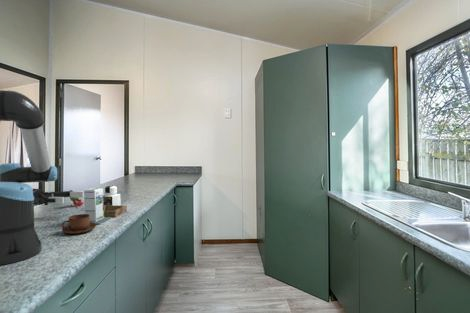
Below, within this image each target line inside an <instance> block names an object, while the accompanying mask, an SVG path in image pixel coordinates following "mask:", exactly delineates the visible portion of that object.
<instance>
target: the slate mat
mask: <svg viewBox="0 0 470 313" xmlns="http://www.w3.org/2000/svg"><path fill="white" fill-rule="evenodd" d="M111 219H112V217H104V219H101V220H99V221H97V222H90V223H95V224H96V226H99V225H101V224H103V223H105V222H107V221H109V220H111Z"/></svg>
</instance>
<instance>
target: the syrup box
mask: <svg viewBox="0 0 470 313" xmlns="http://www.w3.org/2000/svg"><path fill="white" fill-rule="evenodd" d="M83 192H84V197H83V199H84V200H83V201H84V202H83V206H84V214H88V215H89V217H90V222H97V221H99V220H101V219H104V200H103V195H104V188H101V187H93V188H89V189H85V190H83Z"/></svg>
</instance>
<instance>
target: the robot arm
mask: <svg viewBox="0 0 470 313" xmlns="http://www.w3.org/2000/svg"><path fill="white" fill-rule="evenodd" d="M44 118H45V117H44V115H43V112H42V111H41V109H40V108H39V107H38V106H37V104H36V103H35V102H34V101H33V100H32V99H30V98H29V97H28V96H26V95H25V94H23V93H21V92H19V91H18V92H17V91H14V90H3V89H2V90H1V89H0V122H1V121H2V122H14V123H15V126H16V127H17V128H18V129H20V132H21V135H22V136H21V137H22V140H23V143H24V147H25V149H26V154H27V157H28V160H29V165H30V166H21V164H20V163H19V162H9V163H2V164H0V266H1V265H7V264H14V263H17V262H21V261H24V260H28V259H29V258H32V257H35V256H36V255H38V254H40V252H42V241H41V240H40V239H39V235H38V234H37V230H36V228H35V210H34V209H35V207H34V206H38V205H40V206H41V205H44V206H48V205H49V204H62V205H63V204H64V203H65V198H70V197H79V198H80V199H82V198H83V199H84V191H73V189H70V190H67V191H66V190H65V191H46V192H45V191H44V192H43V190H42V189H41V188H33V186H31V185H30V184H28V183H47V182H48V183H49V182H55V181H57V179H58V168H57V167H56V166H52V165H51V160H50V156H49V151H48V146H47V142H46V141H47V140H46V138H45V133H44V128H43V127H44V125H45V119H44Z"/></svg>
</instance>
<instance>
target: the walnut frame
mask: <svg viewBox="0 0 470 313" xmlns="http://www.w3.org/2000/svg"><path fill="white" fill-rule="evenodd" d="M127 209H128V208H127V205H121V206H118V205H104V217H111V218H117V217H119V216H120V215H123V214H124V213H126V212H127V211H128V210H127Z"/></svg>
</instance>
